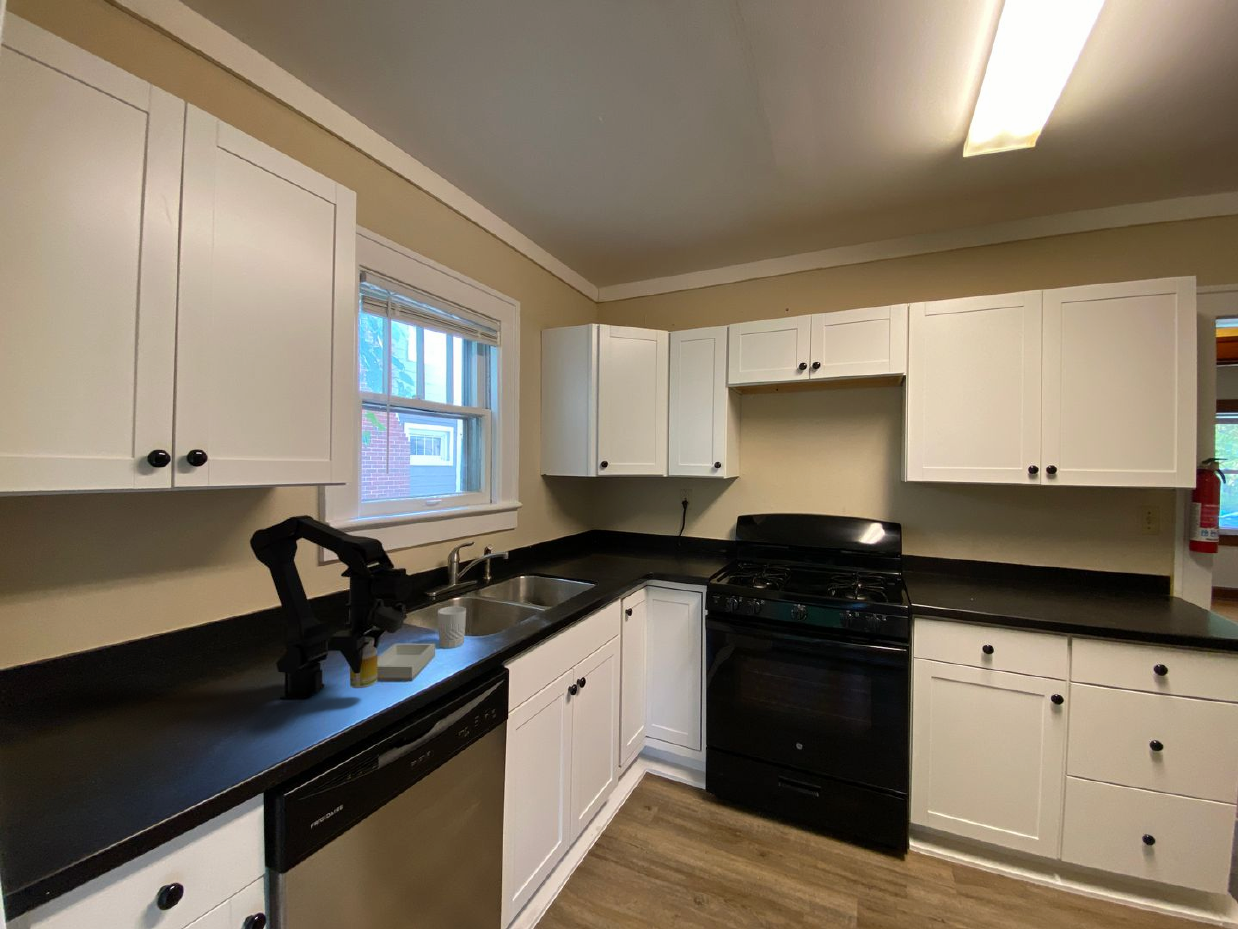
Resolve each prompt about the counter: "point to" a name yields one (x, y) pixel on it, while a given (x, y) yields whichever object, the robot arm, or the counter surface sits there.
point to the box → (404, 661)
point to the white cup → (451, 626)
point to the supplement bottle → (366, 667)
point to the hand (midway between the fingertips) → (363, 667)
